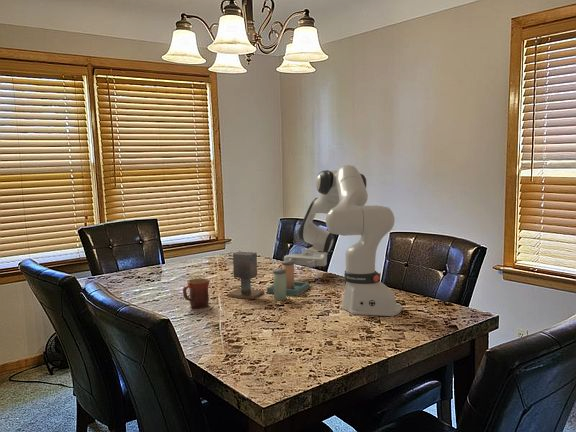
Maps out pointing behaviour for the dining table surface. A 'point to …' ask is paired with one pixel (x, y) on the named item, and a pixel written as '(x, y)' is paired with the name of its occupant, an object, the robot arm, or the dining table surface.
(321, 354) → the dining table surface
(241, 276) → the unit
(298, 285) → the tray
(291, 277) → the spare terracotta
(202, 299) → the mug
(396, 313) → the robot arm
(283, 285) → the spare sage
